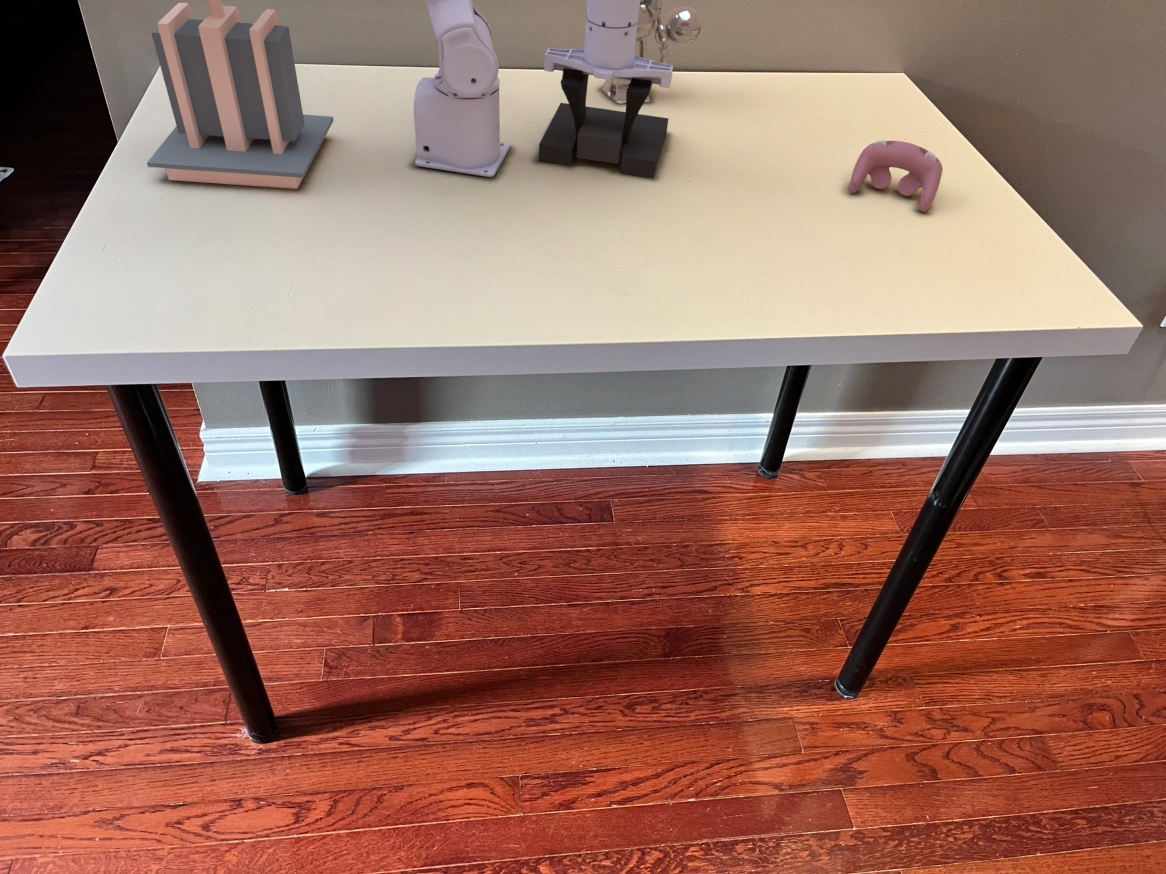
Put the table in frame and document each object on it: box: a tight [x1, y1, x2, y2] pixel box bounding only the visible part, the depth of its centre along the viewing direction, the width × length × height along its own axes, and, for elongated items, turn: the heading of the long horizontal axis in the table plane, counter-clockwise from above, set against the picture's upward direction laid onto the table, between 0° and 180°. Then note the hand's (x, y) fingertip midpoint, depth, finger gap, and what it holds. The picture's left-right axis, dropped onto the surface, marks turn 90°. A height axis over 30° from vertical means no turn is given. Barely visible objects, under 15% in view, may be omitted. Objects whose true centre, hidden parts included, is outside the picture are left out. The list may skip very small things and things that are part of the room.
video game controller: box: [848, 140, 943, 213], centre depth 104 cm, size 10×5×7 cm, turn 65°
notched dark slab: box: [538, 102, 669, 179], centre depth 109 cm, size 14×12×2 cm
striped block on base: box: [146, 0, 334, 190], centre depth 90 cm, size 18×14×33 cm
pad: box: [576, 109, 626, 165], centre depth 106 cm, size 5×7×3 cm
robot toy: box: [601, 0, 702, 105], centre depth 116 cm, size 15×6×15 cm, turn 105°
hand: (602, 136), depth 106 cm, fingers closed on pad, 5 cm apart
